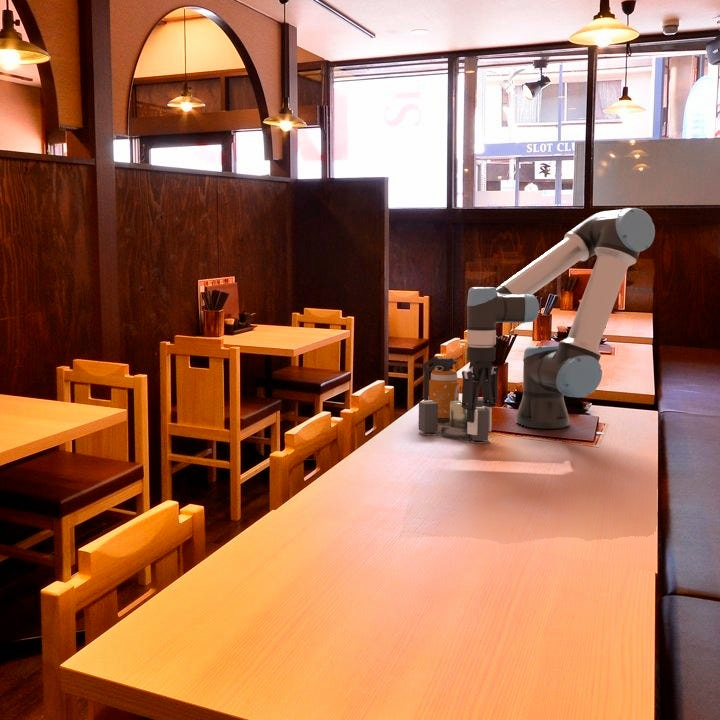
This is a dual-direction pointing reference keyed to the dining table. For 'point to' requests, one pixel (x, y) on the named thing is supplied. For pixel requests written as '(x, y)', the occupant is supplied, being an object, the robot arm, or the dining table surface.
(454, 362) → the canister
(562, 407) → the robot arm
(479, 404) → the knob
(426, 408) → the grey upright block
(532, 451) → the dining table surface
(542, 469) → the dining table surface
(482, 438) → the gray rectangular block
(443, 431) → the tribrach
